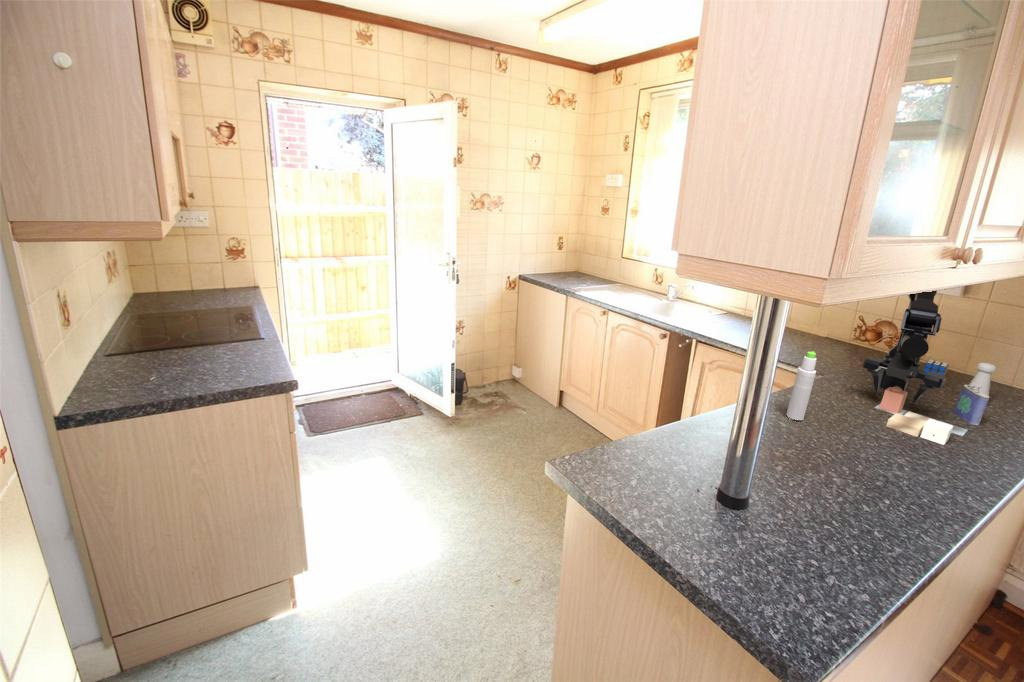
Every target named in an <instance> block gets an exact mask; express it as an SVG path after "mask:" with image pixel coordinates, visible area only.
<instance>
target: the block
mask: <svg viewBox="0 0 1024 682" xmlns="http://www.w3.org/2000/svg"><path fill="white" fill-rule="evenodd" d="M904 415H905V414H903V415H901V414H898V413H896V414H892V416H891V417H889V418H888V420H887V421H886V422H887V423H886V427H888V428H889V429H892V430H896V431H899V432H902V433H905V434H908V435H911V436H912V437H920V436H921V433H922V430H923V428H924V425H925V423H926V422H923V421H919V420H916V419H913V418H910V417H907V416H904Z"/></svg>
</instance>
